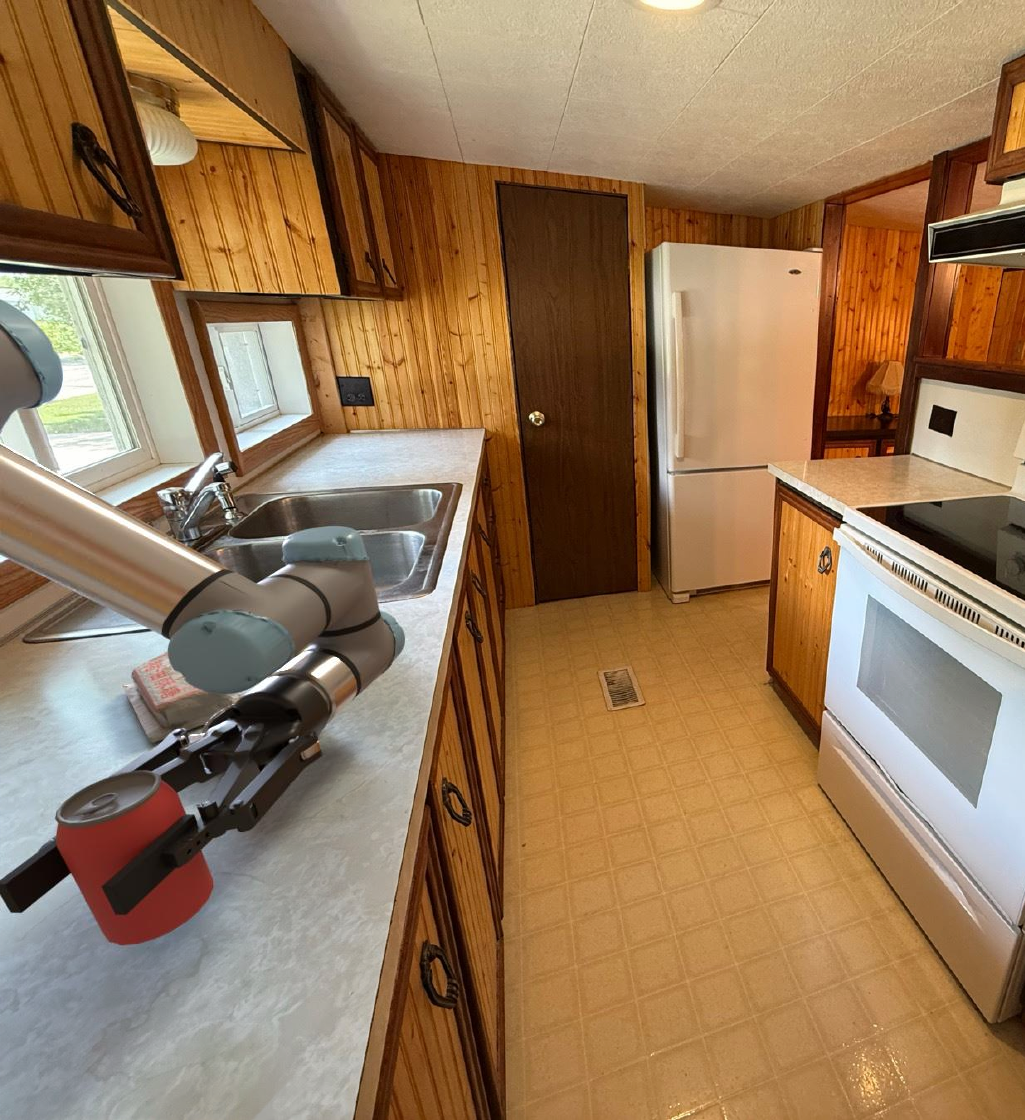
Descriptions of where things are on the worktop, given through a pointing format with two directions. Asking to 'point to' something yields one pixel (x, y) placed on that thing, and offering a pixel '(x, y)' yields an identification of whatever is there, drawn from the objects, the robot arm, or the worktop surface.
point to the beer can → (129, 853)
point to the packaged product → (171, 699)
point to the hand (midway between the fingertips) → (61, 899)
